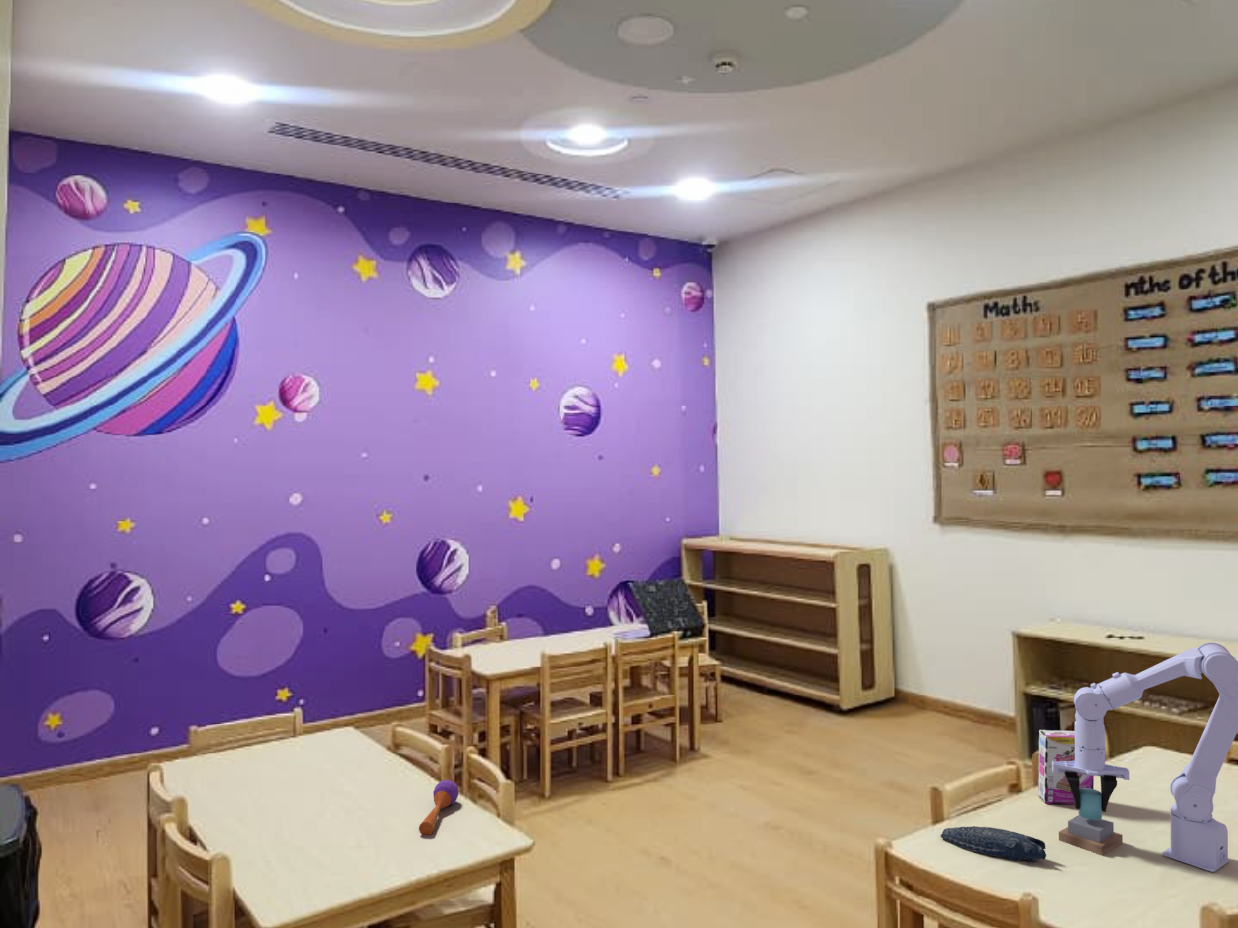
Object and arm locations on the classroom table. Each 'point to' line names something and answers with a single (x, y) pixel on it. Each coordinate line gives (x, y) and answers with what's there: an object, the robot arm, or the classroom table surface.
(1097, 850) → the walnut base slab
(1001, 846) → the fish model
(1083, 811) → the teal cylinder
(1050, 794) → the candy bar box
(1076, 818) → the purplish gray square slab
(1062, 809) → the classroom table surface
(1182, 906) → the classroom table surface
